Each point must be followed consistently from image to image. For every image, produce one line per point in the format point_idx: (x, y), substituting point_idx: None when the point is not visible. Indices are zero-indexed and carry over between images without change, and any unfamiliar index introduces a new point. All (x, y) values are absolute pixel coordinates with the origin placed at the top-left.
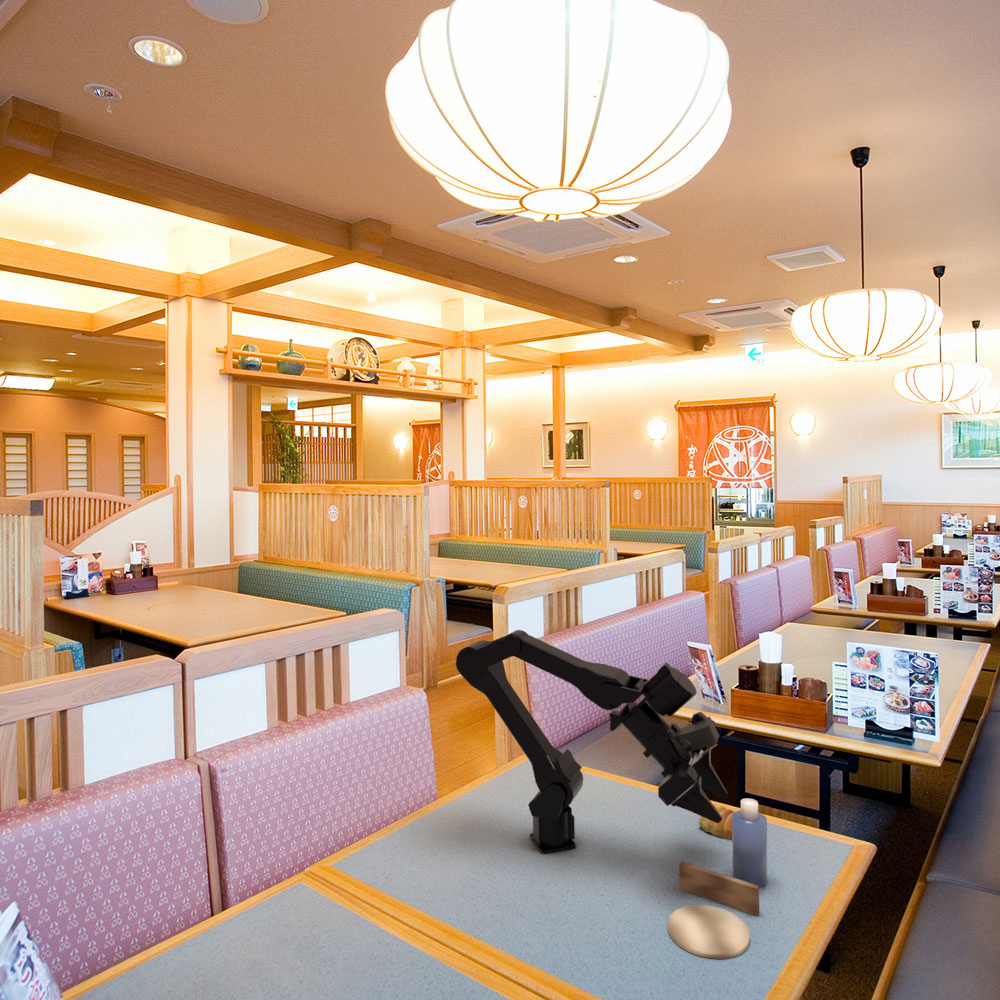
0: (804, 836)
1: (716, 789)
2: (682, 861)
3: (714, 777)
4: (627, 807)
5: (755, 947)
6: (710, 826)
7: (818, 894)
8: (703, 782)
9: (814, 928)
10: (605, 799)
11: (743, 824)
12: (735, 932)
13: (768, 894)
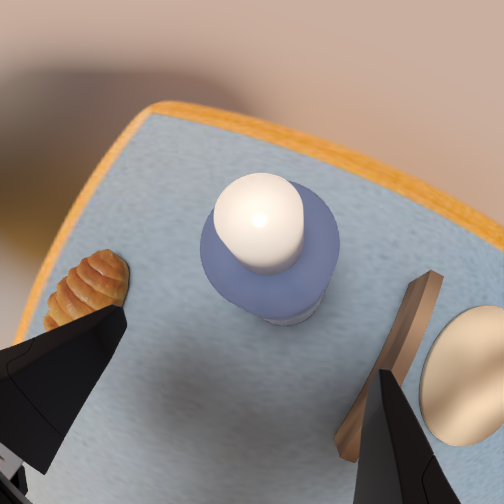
0: (119, 171)
1: (98, 353)
2: (342, 456)
3: (54, 358)
4: (53, 460)
5: (495, 298)
6: None
7: (315, 167)
8: (70, 405)
9: (424, 195)
10: (43, 481)
11: (332, 272)
12: (488, 330)
13: (338, 256)
